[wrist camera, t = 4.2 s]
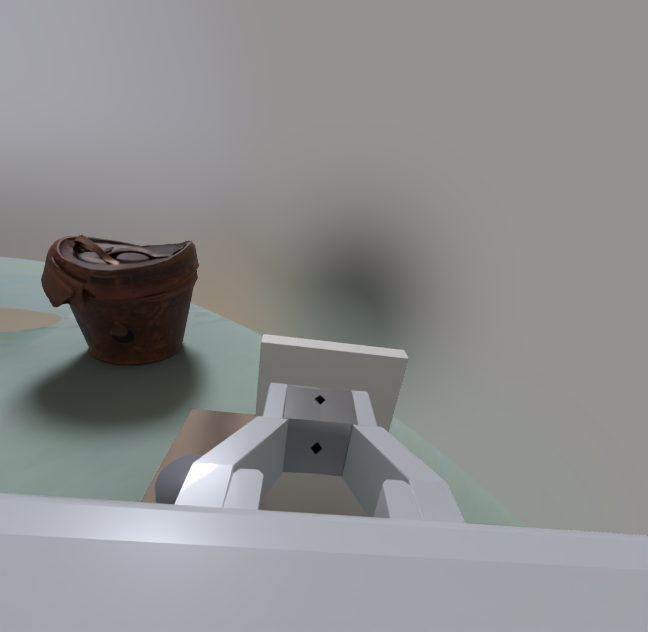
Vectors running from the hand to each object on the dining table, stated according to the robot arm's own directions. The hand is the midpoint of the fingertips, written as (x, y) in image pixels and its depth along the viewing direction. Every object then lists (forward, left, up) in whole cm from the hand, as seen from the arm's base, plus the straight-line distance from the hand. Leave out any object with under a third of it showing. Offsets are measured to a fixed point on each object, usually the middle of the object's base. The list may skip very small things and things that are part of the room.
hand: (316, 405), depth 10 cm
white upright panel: (-11, +4, -20) cm, 23 cm away
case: (-47, -3, -22) cm, 52 cm away
